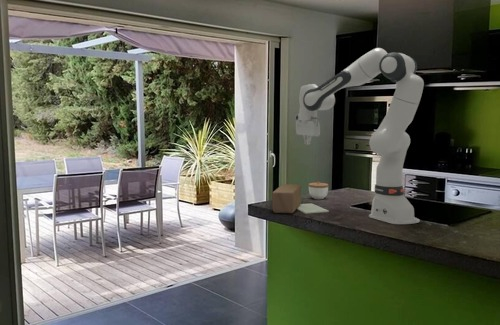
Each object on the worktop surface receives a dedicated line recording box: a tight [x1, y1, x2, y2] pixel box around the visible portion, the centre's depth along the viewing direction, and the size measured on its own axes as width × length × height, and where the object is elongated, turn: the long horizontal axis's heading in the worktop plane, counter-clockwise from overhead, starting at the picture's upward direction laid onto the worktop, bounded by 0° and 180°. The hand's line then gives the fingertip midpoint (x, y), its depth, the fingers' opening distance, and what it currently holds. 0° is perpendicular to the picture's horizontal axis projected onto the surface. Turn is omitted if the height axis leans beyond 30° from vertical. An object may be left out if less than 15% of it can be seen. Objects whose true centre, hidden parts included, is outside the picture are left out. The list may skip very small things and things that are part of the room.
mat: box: [296, 202, 330, 215], centre depth 220 cm, size 18×12×1 cm, turn 19°
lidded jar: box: [308, 180, 329, 200], centre depth 247 cm, size 11×11×9 cm
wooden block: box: [271, 183, 302, 214], centre depth 219 cm, size 10×10×20 cm
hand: (307, 144), depth 229 cm, fingers closed
